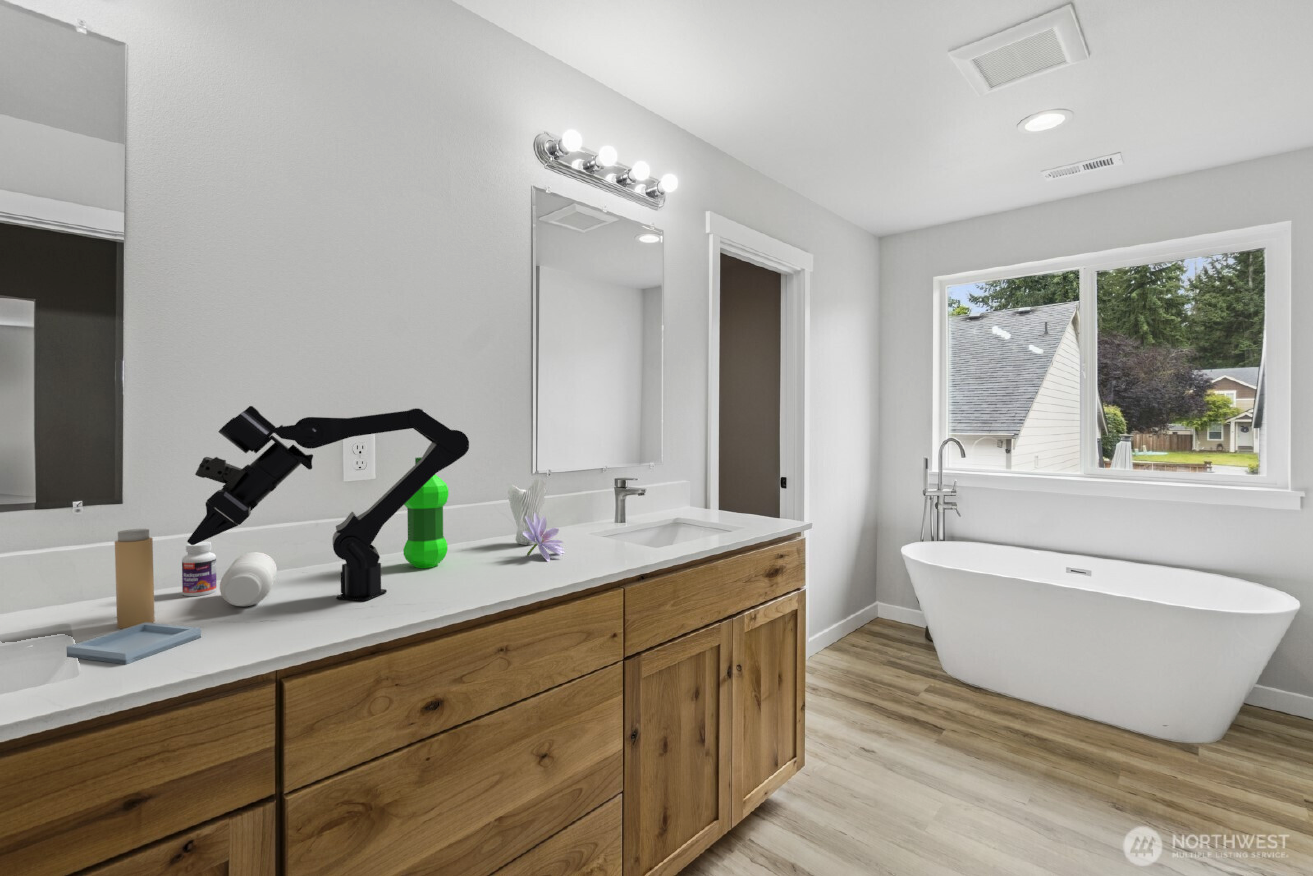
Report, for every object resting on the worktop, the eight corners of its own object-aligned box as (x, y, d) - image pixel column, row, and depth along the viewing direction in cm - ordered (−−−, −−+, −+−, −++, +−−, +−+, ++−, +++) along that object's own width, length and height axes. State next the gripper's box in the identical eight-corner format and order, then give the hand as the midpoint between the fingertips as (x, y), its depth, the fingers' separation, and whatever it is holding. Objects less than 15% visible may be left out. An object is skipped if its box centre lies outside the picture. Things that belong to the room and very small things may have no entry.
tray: (200, 637, 98) (200, 627, 97) (125, 664, 87) (125, 653, 87) (146, 631, 100) (146, 622, 100) (66, 657, 90) (66, 646, 89)
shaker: (161, 620, 106) (159, 529, 105) (131, 629, 101) (129, 534, 100) (140, 618, 107) (137, 527, 106) (109, 627, 102) (106, 532, 102)
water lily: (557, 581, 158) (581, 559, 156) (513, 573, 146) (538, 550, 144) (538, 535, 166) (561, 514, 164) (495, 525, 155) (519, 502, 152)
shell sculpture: (505, 544, 169) (504, 478, 168) (529, 540, 175) (529, 476, 175) (524, 548, 164) (524, 480, 163) (548, 544, 170) (548, 477, 169)
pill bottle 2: (251, 600, 123) (238, 622, 110) (219, 571, 121) (202, 590, 107) (287, 571, 126) (279, 590, 112) (257, 542, 123) (245, 558, 110)
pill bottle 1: (178, 598, 119) (177, 547, 118) (186, 591, 123) (185, 542, 123) (213, 595, 121) (211, 545, 120) (219, 588, 126) (218, 539, 125)
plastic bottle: (455, 566, 144) (454, 458, 143) (407, 573, 138) (406, 459, 137) (443, 558, 152) (442, 455, 151) (397, 564, 146) (395, 457, 146)
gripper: (235, 439, 118) (163, 501, 113) (221, 442, 101) (137, 515, 96) (284, 478, 122) (217, 540, 117) (279, 487, 105) (201, 560, 100)
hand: (194, 538), depth 107 cm, fingers open, 9 cm apart
